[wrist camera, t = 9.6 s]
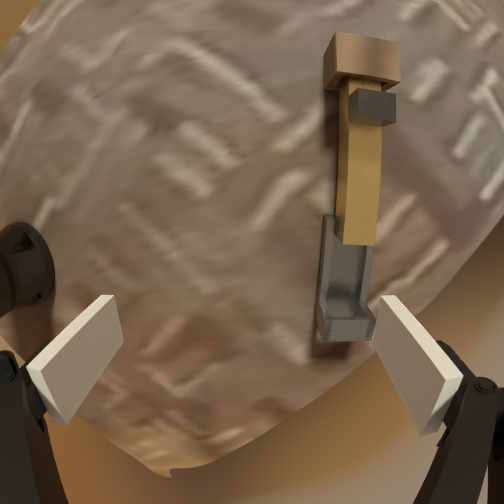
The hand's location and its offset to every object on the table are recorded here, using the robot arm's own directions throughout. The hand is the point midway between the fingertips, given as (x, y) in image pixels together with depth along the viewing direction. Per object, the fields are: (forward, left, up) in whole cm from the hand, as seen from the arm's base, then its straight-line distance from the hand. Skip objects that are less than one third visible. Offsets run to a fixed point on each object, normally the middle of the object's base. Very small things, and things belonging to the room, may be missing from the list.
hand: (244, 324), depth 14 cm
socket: (+11, +20, -26) cm, 35 cm away
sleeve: (+11, -6, -26) cm, 29 cm away
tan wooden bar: (+11, +10, -25) cm, 29 cm away
